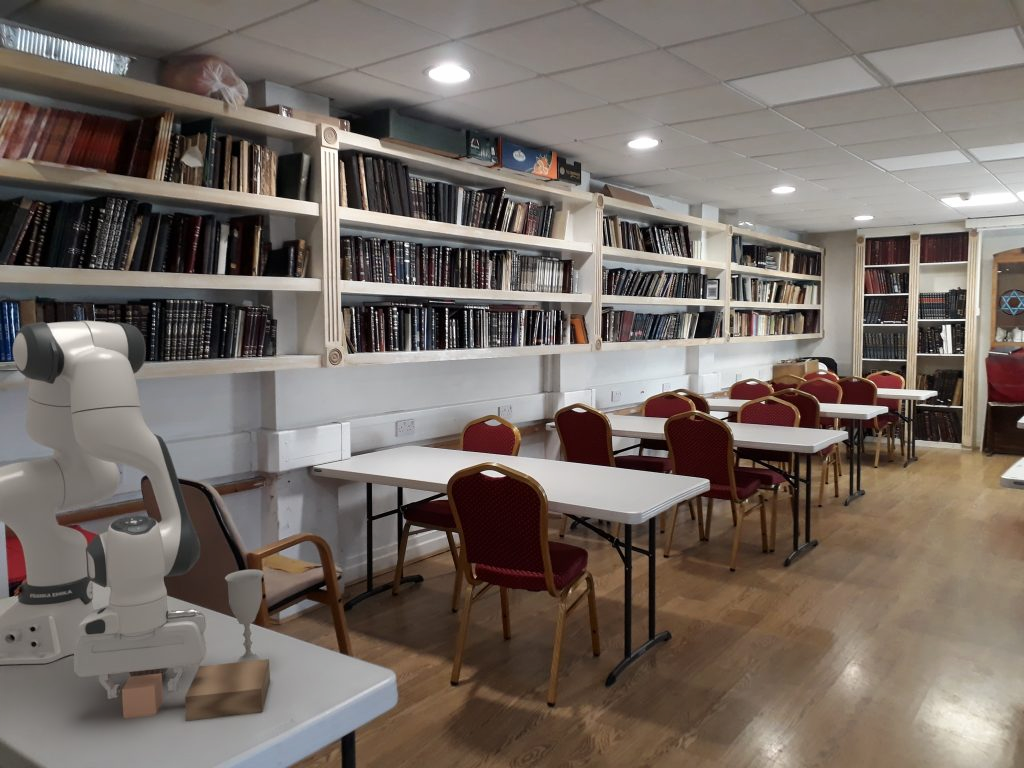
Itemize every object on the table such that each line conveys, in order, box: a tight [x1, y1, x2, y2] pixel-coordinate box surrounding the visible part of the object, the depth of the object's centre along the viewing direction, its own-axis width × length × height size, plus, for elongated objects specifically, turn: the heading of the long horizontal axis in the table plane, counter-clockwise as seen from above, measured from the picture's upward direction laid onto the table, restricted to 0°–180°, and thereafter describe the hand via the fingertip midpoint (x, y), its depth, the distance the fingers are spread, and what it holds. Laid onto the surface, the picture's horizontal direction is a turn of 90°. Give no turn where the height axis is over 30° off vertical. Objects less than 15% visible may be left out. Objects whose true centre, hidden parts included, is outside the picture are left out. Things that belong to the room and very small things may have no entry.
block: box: [121, 673, 164, 719], centre depth 131 cm, size 5×5×5 cm
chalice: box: [224, 568, 265, 662], centre depth 146 cm, size 7×7×18 cm
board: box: [184, 658, 271, 722], centre depth 134 cm, size 12×12×4 cm
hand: (144, 694), depth 131 cm, fingers open, 8 cm apart
